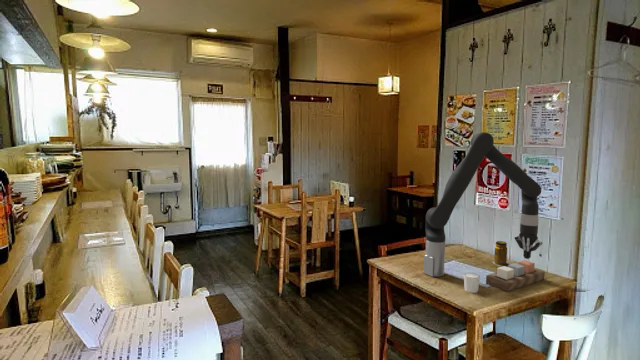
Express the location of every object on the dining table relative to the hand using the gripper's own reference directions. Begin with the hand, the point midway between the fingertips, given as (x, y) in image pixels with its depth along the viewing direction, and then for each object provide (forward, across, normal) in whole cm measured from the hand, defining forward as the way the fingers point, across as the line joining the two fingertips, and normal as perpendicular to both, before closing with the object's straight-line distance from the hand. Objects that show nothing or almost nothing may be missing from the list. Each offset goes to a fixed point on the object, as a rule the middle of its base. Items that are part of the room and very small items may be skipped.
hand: (527, 258), depth 184 cm
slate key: (+6, 0, -8) cm, 10 cm away
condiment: (+10, -19, +9) cm, 23 cm away
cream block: (+6, 0, -16) cm, 17 cm away
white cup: (+10, -4, -34) cm, 36 cm away
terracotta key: (+6, 0, 0) cm, 6 cm away
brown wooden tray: (+10, 0, -8) cm, 13 cm away
